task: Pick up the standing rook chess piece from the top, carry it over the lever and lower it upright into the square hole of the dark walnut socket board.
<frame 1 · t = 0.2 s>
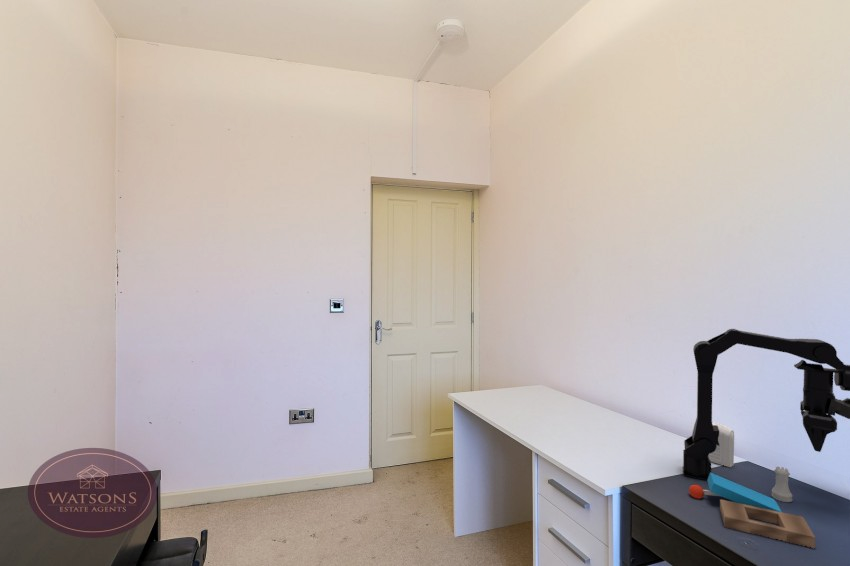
hand: (816, 445, 111), 14 cm above the table, tool pointing down, fingers open, 9 cm apart
walnut socket board: (763, 527, 98), on the table
rook chess piece: (781, 499, 112), on the table
lever: (731, 506, 109), on the table
photo printer: (714, 462, 135), on the table
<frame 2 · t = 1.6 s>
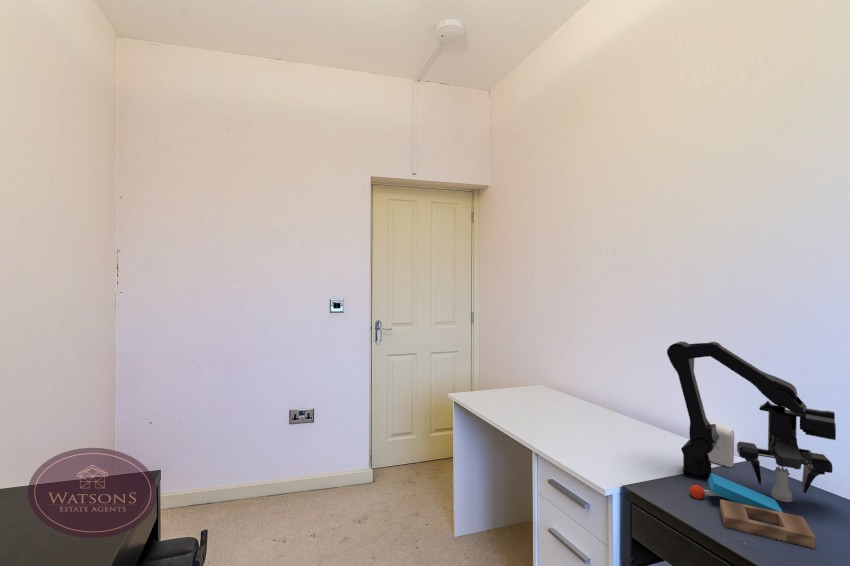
hand: (781, 488, 112), 3 cm above the table, tool pointing down, fingers open, 9 cm apart
nothing on the table moved.
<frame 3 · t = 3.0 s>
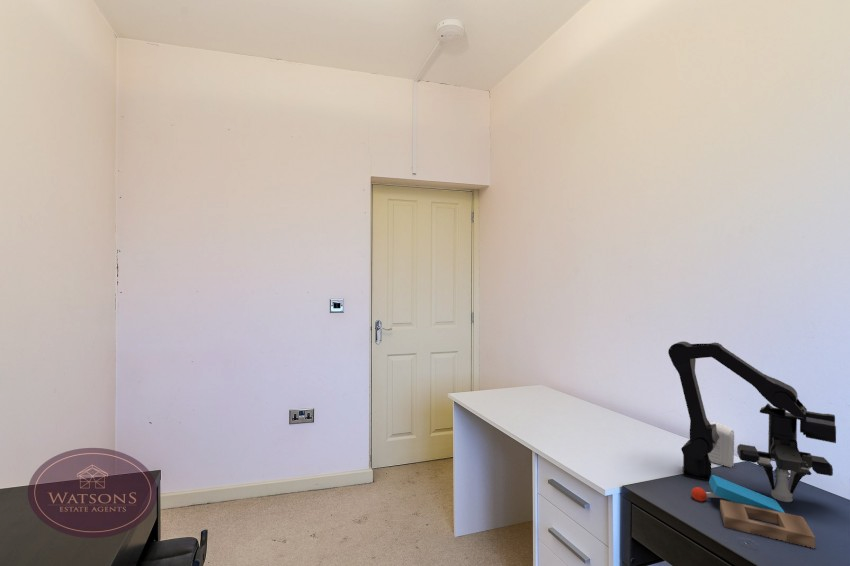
hand: (781, 490, 112), 2 cm above the table, tool pointing down, fingers closed on rook chess piece, 3 cm apart
rook chess piece: (781, 499, 112), on the table, touching gripper
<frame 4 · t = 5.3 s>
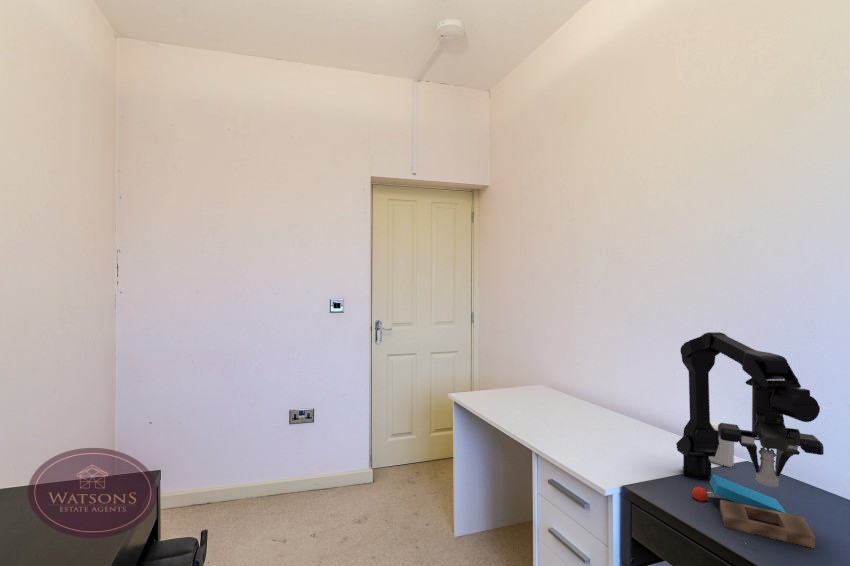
hand: (767, 473, 99), 12 cm above the table, tool pointing down, fingers closed on rook chess piece, 3 cm apart
rook chess piece: (767, 483, 99), point 10 cm above the table, touching gripper
everything else where it was.
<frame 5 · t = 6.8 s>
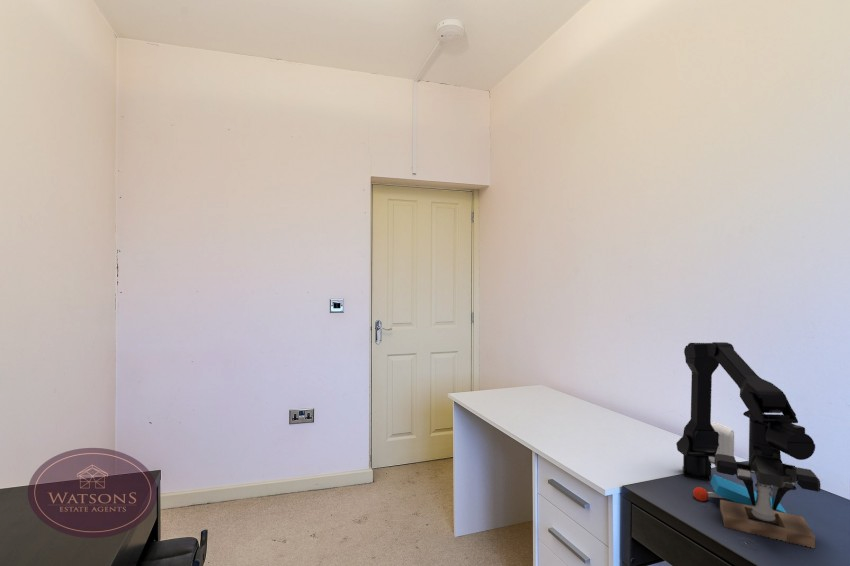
hand: (763, 507, 99), 5 cm above the table, tool pointing down, fingers closed on rook chess piece, 3 cm apart
rook chess piece: (763, 517, 99), point 2 cm above the table, touching gripper
everything else where it was.
when the fingers open (3 cm above the table, at t = 8.0 s): rook chess piece drops 1 cm, resting in walnut socket board.
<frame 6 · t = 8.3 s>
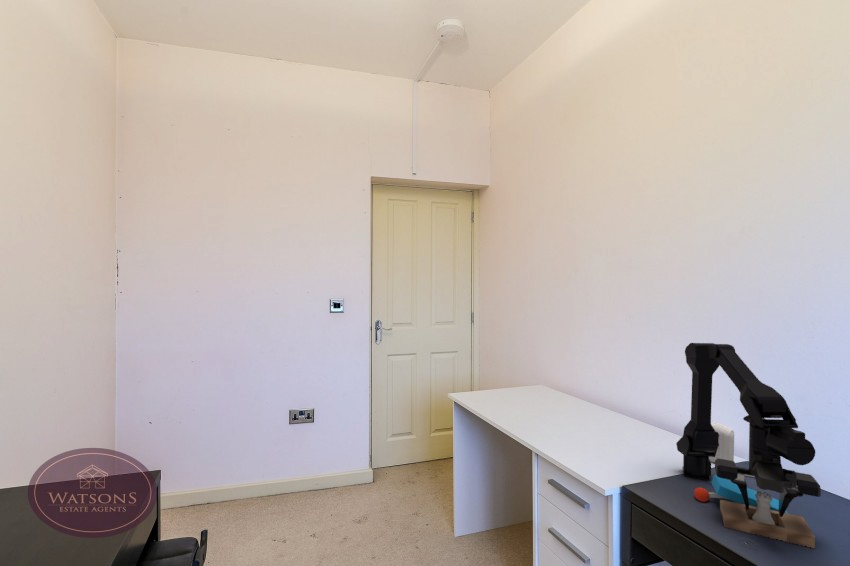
hand: (763, 512, 98), 3 cm above the table, tool pointing down, fingers open, 6 cm apart
rook chess piece: (763, 528, 99), resting in walnut socket board
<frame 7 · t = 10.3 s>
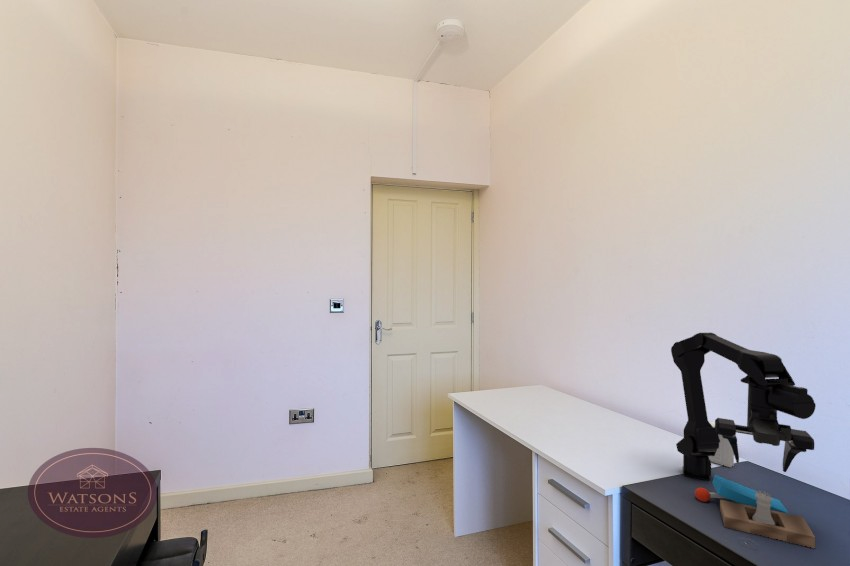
hand: (760, 466, 104), 12 cm above the table, tool pointing down, fingers open, 9 cm apart
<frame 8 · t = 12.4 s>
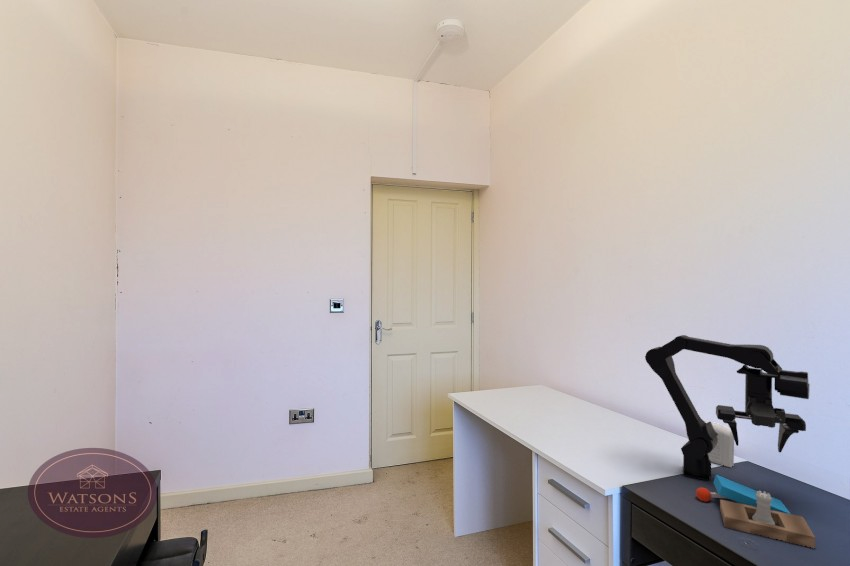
hand: (757, 448, 115), 12 cm above the table, tool pointing down, fingers open, 9 cm apart
at the end: rook chess piece 0.1 cm off-centre on the walnut socket board, point 0.0 cm above the walnut socket board's base; rook chess piece tilted 0°; the gripper is holding nothing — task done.
